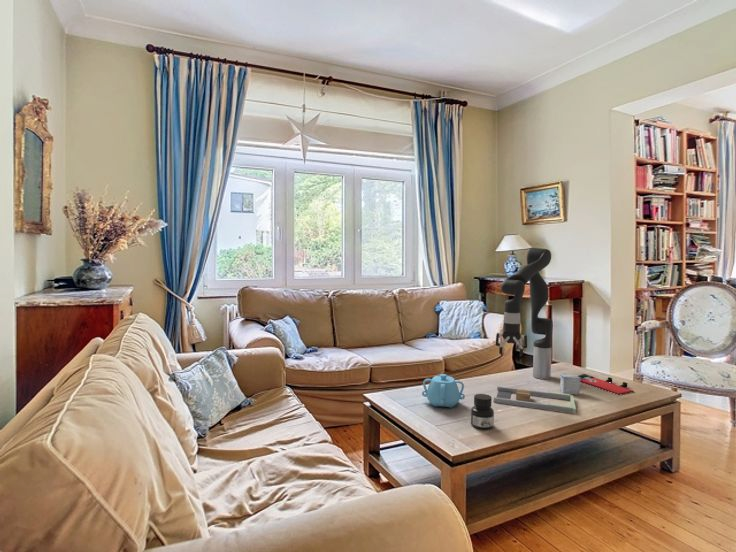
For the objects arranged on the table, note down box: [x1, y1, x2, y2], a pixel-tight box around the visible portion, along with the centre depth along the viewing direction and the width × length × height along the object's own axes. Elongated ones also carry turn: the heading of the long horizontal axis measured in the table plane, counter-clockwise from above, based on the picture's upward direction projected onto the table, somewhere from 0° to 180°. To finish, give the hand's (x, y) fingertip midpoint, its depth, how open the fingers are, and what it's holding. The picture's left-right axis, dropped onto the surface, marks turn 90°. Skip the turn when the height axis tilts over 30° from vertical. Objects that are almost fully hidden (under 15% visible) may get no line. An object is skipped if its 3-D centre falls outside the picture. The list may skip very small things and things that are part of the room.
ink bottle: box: [470, 393, 495, 431], centre depth 168 cm, size 10×9×12 cm
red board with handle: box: [576, 373, 635, 396], centre depth 221 cm, size 30×3×15 cm
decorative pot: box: [421, 373, 466, 408], centre depth 192 cm, size 16×16×14 cm
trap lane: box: [493, 385, 577, 415], centre depth 196 cm, size 19×34×2 cm, turn 67°
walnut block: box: [515, 388, 531, 402], centre depth 198 cm, size 6×6×4 cm
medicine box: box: [559, 374, 581, 395], centre depth 207 cm, size 8×4×9 cm, turn 84°
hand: (510, 355), depth 198 cm, fingers open, 8 cm apart
